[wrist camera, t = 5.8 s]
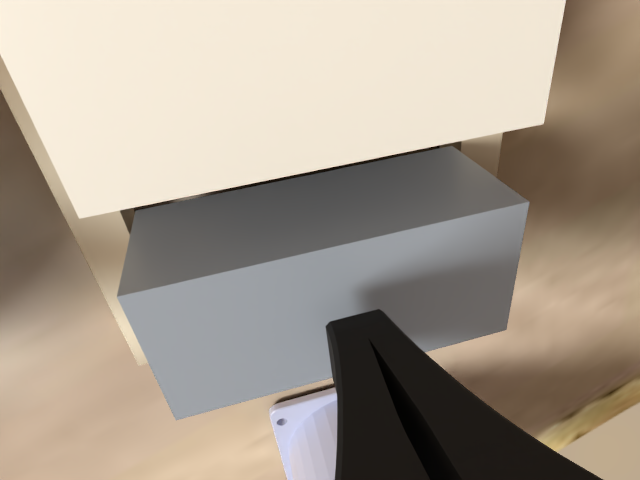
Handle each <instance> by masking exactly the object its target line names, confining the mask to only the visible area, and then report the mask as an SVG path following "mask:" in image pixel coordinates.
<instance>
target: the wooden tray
mask: <svg viewBox="0 0 640 480" xmlns="http://www.w3.org/2000/svg"><path fill="white" fill-rule="evenodd" d="M0 89H1V91H2V93H3V95H4V97H5V99H6V101H7V103H8V105H9V107H10V109H11V111H12V113H13V115H14V117H15V119H16V121H17V123H18V125H19V127H20V129H21V131H22V133H23V135H24V137H25V139H26V141H27V143H28V145H29V147H30V149H31V151H32V153H33V155H34V157H35V159H36V161H37V163H38V165H39V167H40V169H41V171H42V173H43V175H44V177H45V179H46V181H47V183H48V185H49V187H50V189H51V191H52V193H53V195H54V197H55V199H56V201H57V203H58V205H59V207H60V209H61V211H62V213H63V215H64V217H65V219H66V221H67V223H68V225H69V227H70V229H71V231H72V233H73V235H74V237H75V239H76V241H77V243H78V245H79V247H80V249H81V251H82V253H83V255H84V257H85V259H86V261H87V263H88V265H89V267H90V269H91V271H92V273H93V275H94V277H95V279H96V281H97V283H98V285H99V287H100V289H101V291H102V293H103V295H104V297H105V299H106V301H107V303H108V305H109V307H110V309H111V311H112V313H113V315H114V317H115V319H116V321H117V323H118V325H119V327H120V329H121V331H122V333H123V335H124V337H125V339H126V341H127V343H128V345H129V347H130V349H131V351H132V353H133V355H134V357H135V359H136V361H137V363H138V365H139V366H140V365H144V364H148V361H147V359H146V357H145V355H144V353H143V351H142V349H141V347H140V344H139V342H138V340H137V338H136V336H135V334H134V332H133V330H132V328H131V326H130V324H129V322H128V319H127V317H126V315H125V313H124V311H123V309H122V307H121V305H120V303H119V301H118V299H117V293H118V289H119V284H120V279H121V275H122V270H123V266H124V261H125V256H126V252H127V247H128V243H129V238H130V233H131V229H132V224H133V220H134V215H135V211H134V209H133V208H129V209H125V210H120V211H115V212H110V213H105V214H100V215H95V216H90V217H85V218H80V219H79V217H78V215H77V213H76V211H75V209H74V207H73V205H72V203H71V201H70V199H69V196H68V194H67V192H66V190H65V188H64V186H63V184H62V182H61V180H60V178H59V176H58V174H57V171H56V169H55V167H54V165H53V163H52V161H51V159H50V157H49V155H48V153H47V151H46V149H45V146H44V144H43V142H42V140H41V138H40V136H39V134H38V132H37V130H36V128H35V126H34V124H33V121H32V119H31V117H30V115H29V113H28V111H27V109H26V107H25V105H24V103H23V101H22V99H21V96H20V94H19V92H18V90H17V88H16V86H15V84H14V82H13V80H12V78H11V76H10V74H9V71H8V69H7V67H6V65H5V63H4V61H3V59H2V57H1V55H0ZM502 134H503V132H502V133H497V134H492V135H487V136H483V137H478V138H473V139H468V140H463V141H458V142H453V143H448V144H443V145H440V148H444V147H449V146H453V147H454V148H456V149H457V150H459V151H460V152H461V153H463V154H464V155H466V156H467V157H468V158H470V159H471V160H472V161H474V162H475V163H477V164H478V165H479V166H481V167H482V168H484V169H485V170H486V171H488V172H489V173H490V174H492V175H493V176H495V177H496V178H497V173H498V165H499V158H500V150H501V142H502Z"/></svg>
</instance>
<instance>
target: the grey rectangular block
mask: <svg viewBox="0 0 640 480" xmlns="http://www.w3.org/2000/svg"><path fill="white" fill-rule="evenodd" d="M528 207H529V201H528V200H526V199H525V198H524V197H522V196H521V195H519V194H518V193H517V192H515V191H514V190H513V189H511V188H510V187H508V186H507V185H506V184H504V183H503V182H501V181H500V180H499V179H497V178H496V177H495V176H493V175H492V174H490V173H489V172H488V171H486V170H485V169H484V168H482V167H481V166H479V165H478V164H477V163H475V162H474V161H472V160H471V159H470V158H468V157H467V156H466V155H464V154H463V153H461V152H460V151H459V150H457V149H456V148H454V147H453V146H449V147H444V148H439V149H434V150H429V151H424V152H419V153H415V154H410V155H405V156H400V157H395V158H390V159H385V160H380V161H376V162H371V163H366V164H361V165H356V166H351V167H346V168H341V169H337V170H332V171H327V172H322V173H317V174H312V175H307V176H302V177H298V178H293V179H288V180H283V181H278V182H273V183H268V184H263V185H258V186H254V187H249V188H244V189H239V190H234V191H229V192H224V193H219V194H215V195H210V196H205V197H200V198H195V199H190V200H185V201H180V202H176V203H171V204H166V205H161V206H156V207H151V208H146V209H141V210H137V211H135V215H134V220H133V224H132V229H131V233H130V238H129V243H128V247H127V252H126V256H125V261H124V266H123V270H122V275H121V279H120V284H119V289H118V293H117V299H118V301H119V303H120V305H121V307H122V309H123V311H124V313H125V315H126V317H127V319H128V322H129V324H130V326H131V328H132V330H133V332H134V334H135V336H136V338H137V340H138V342H139V344H140V347H141V349H142V351H143V353H144V355H145V357H146V359H147V361H148V363H149V365H150V367H151V369H152V372H153V374H154V376H155V378H156V380H157V382H158V384H159V386H160V388H161V390H162V392H163V394H164V397H165V399H166V401H167V403H168V405H169V407H170V409H171V411H172V413H173V415H174V417H175V419H176V420H179V419H183V418H186V417H190V416H194V415H197V414H201V413H205V412H208V411H212V410H215V409H219V408H223V407H226V406H230V405H234V404H237V403H241V402H245V401H248V400H252V399H256V398H259V397H263V396H267V395H270V394H274V393H278V392H281V391H285V390H289V389H292V388H296V387H300V386H303V385H307V384H310V383H314V382H318V381H321V380H325V379H329V378H332V370H331V363H330V356H329V348H328V341H327V334H326V327H325V326H326V325H327V324H328V323H329V322H330V321H334V320H337V319H341V318H345V317H349V316H353V315H357V314H361V313H365V312H369V311H373V310H377V309H380V310H382V311H383V312H384V313H385V314H386V315H387V316H388V317H389V318H390V319H391V320H392V321H393V322H394V323H395V324H396V325H397V326H398V327H399V328H400V329H401V330H402V331H403V332H404V333H405V334H406V335H407V336H408V337H409V338H410V339H411V340H412V341H413V342H414V343H415V344H416V345H417V346H418V347H419V348H420V349H421V350H422V351H424V352H427V351H431V350H435V349H438V348H442V347H446V346H449V345H453V344H457V343H460V342H464V341H468V340H471V339H475V338H479V337H482V336H486V335H490V334H493V333H497V332H500V331H504V330H506V329H507V323H508V318H509V312H510V307H511V301H512V296H513V290H514V285H515V279H516V274H517V268H518V262H519V257H520V251H521V246H522V240H523V235H524V229H525V224H526V218H527V213H528Z"/></svg>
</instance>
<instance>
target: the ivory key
mask: <svg viewBox="0 0 640 480" xmlns="http://www.w3.org/2000/svg"><path fill="white" fill-rule="evenodd" d="M565 3H566V0H0V55H1V57H2V59H3V61H4V63H5V65H6V67H7V69H8V71H9V74H10V76H11V78H12V80H13V82H14V84H15V86H16V88H17V90H18V92H19V94H20V96H21V99H22V101H23V103H24V105H25V107H26V109H27V111H28V113H29V115H30V117H31V119H32V121H33V124H34V126H35V128H36V130H37V132H38V134H39V136H40V138H41V140H42V142H43V144H44V146H45V149H46V151H47V153H48V155H49V157H50V159H51V161H52V163H53V165H54V167H55V169H56V171H57V174H58V176H59V178H60V180H61V182H62V184H63V186H64V188H65V190H66V192H67V194H68V196H69V199H70V201H71V203H72V205H73V207H74V209H75V211H76V213H77V215H78V217H79V219H80V218H85V217H90V216H95V215H100V214H105V213H110V212H115V211H120V210H125V209H129V208H134V207H139V206H144V205H149V204H154V203H159V202H164V201H169V200H174V199H178V198H183V197H188V196H193V195H198V194H203V193H208V192H213V191H218V190H223V189H228V188H232V187H237V186H242V185H247V184H252V183H257V182H262V181H267V180H272V179H277V178H281V177H286V176H291V175H296V174H301V173H306V172H311V171H316V170H321V169H326V168H331V167H335V166H340V165H345V164H350V163H355V162H360V161H365V160H370V159H375V158H380V157H384V156H389V155H394V154H399V153H404V152H409V151H414V150H419V149H424V148H429V147H434V146H438V145H443V144H448V143H453V142H458V141H463V140H468V139H473V138H478V137H483V136H487V135H492V134H497V133H502V132H507V131H512V130H517V129H522V128H527V127H532V126H537V125H541V124H544V119H545V113H546V108H547V102H548V97H549V91H550V86H551V80H552V75H553V69H554V64H555V58H556V52H557V47H558V41H559V36H560V30H561V25H562V19H563V14H564V8H565Z"/></svg>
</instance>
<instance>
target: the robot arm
mask: <svg viewBox="0 0 640 480" xmlns="http://www.w3.org/2000/svg"><path fill="white" fill-rule="evenodd" d="M325 327H326V334H327V341H328V348H329V356H330V363H331V370H332V377H333V381H334V384H335V387H334V388H331V389H327V390H324V391H320V392H316V393H313V394H309V395H305V396H302V397H298V398H295V399H291V400H287V401H284V402H280V403H277V404H275V405H273V406H272V407H271V408H270V410H269V415H270V419H271V423H272V427H273V430H274V434H275V437H276V441H277V444H278V448H279V451H280V455H281V459H282V462H283V466H284V469H285V473H286V476H287V480H603V479H601V478H599V477H598V476H596V475H594V474H592V473H591V472H589V471H587V470H585V469H584V468H582V467H580V466H579V465H577V464H575V463H574V462H572V461H570V460H569V459H567V458H565V457H563V456H562V455H560V454H558V453H557V452H555V451H554V450H552V449H551V448H549V447H548V446H546V445H544V444H543V443H541V442H540V441H538V440H537V439H535V438H534V437H532V436H531V435H529V434H528V433H526V432H525V431H523V430H522V429H520V428H519V427H517V426H516V425H515V424H513V423H512V422H510V421H509V420H507V419H506V418H505V417H503V416H502V415H500V414H499V413H498V412H496V411H495V410H494V409H492V408H491V407H490V406H488V405H487V404H486V403H484V402H483V401H482V400H480V399H479V398H478V397H477V396H475V395H474V394H473V393H472V392H470V391H469V390H468V389H466V388H465V387H464V386H463V385H462V384H460V383H459V382H458V381H457V380H455V379H454V378H453V377H452V376H451V375H450V374H448V373H447V372H446V371H445V370H444V369H443V368H442V367H440V366H439V365H438V364H437V363H436V362H435V361H434V360H432V359H431V358H430V357H429V356H428V355H427V354H426V353H425V352H424V351H422V350H421V349H420V348H419V347H418V346H417V345H416V344H415V343H414V342H413V341H412V340H411V339H410V338H409V337H408V336H407V335H406V334H405V333H404V332H403V331H402V330H401V329H400V328H399V327H398V326H397V325H396V324H395V323H394V322H393V321H392V320H391V319H390V318H389V317H388V316H387V315H386V314H385V313H384V312H383V311H382V310H380V309H377V310H373V311H369V312H365V313H361V314H357V315H353V316H349V317H345V318H341V319H337V320H334V321H330V322H329V323H328V324H327V325H326V326H325Z"/></svg>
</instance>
